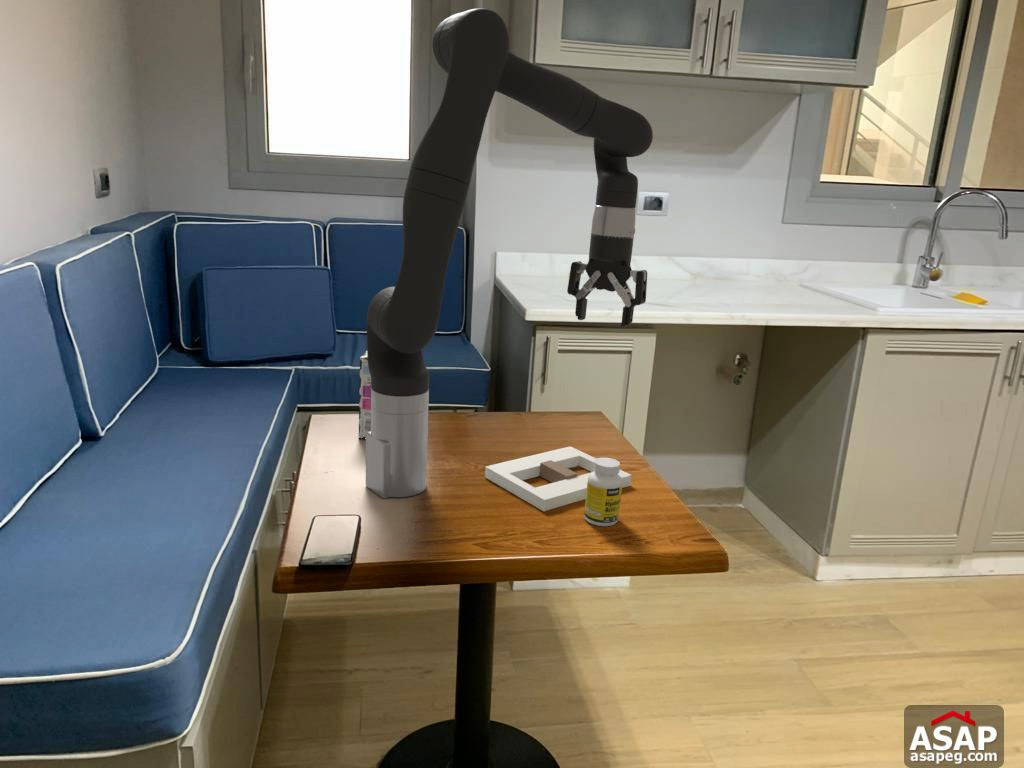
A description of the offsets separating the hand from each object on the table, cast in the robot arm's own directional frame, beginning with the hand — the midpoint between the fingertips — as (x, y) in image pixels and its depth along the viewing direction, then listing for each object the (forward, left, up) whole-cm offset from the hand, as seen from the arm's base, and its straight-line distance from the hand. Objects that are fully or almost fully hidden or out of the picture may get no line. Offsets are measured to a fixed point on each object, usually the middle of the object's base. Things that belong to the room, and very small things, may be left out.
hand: (602, 323), depth 141 cm
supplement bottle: (-17, -21, -26) cm, 38 cm away
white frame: (-13, -6, -26) cm, 30 cm away
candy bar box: (-28, +32, -26) cm, 50 cm away
